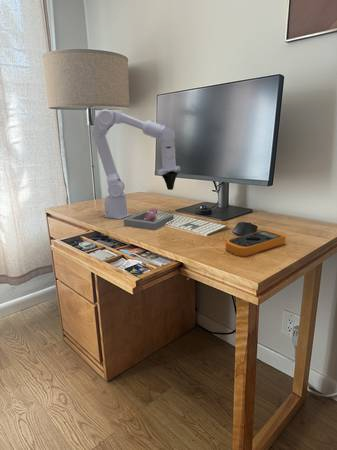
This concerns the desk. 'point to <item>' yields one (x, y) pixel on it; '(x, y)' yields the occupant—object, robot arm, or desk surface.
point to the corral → (140, 223)
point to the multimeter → (254, 242)
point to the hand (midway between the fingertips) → (170, 189)
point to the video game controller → (151, 215)
